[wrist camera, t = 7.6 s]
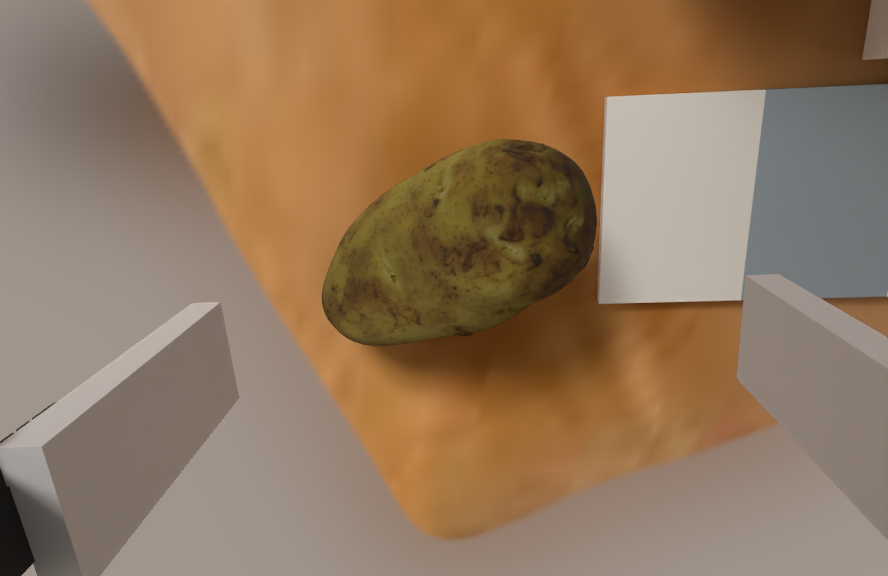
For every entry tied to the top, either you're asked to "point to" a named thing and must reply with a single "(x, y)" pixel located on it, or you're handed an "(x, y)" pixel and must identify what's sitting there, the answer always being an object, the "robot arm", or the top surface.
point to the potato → (462, 245)
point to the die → (877, 31)
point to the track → (744, 193)
